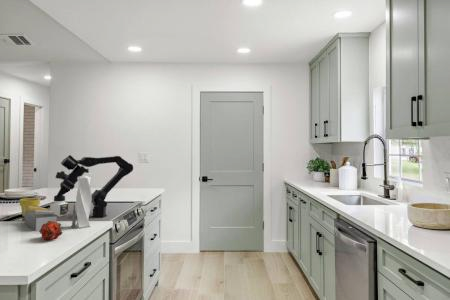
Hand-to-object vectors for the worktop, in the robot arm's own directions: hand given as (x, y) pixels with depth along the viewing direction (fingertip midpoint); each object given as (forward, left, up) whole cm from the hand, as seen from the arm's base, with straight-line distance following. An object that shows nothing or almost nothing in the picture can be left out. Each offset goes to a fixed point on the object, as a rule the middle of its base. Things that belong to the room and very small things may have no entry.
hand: (56, 197), depth 181 cm
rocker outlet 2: (-4, +16, -6) cm, 17 cm away
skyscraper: (-21, +10, -13) cm, 26 cm away
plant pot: (+23, -10, -13) cm, 28 cm away
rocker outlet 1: (+6, +8, -6) cm, 11 cm away
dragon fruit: (-20, +35, -13) cm, 42 cm away
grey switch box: (+1, +12, -13) cm, 18 cm away
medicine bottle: (+8, -16, -13) cm, 23 cm away
